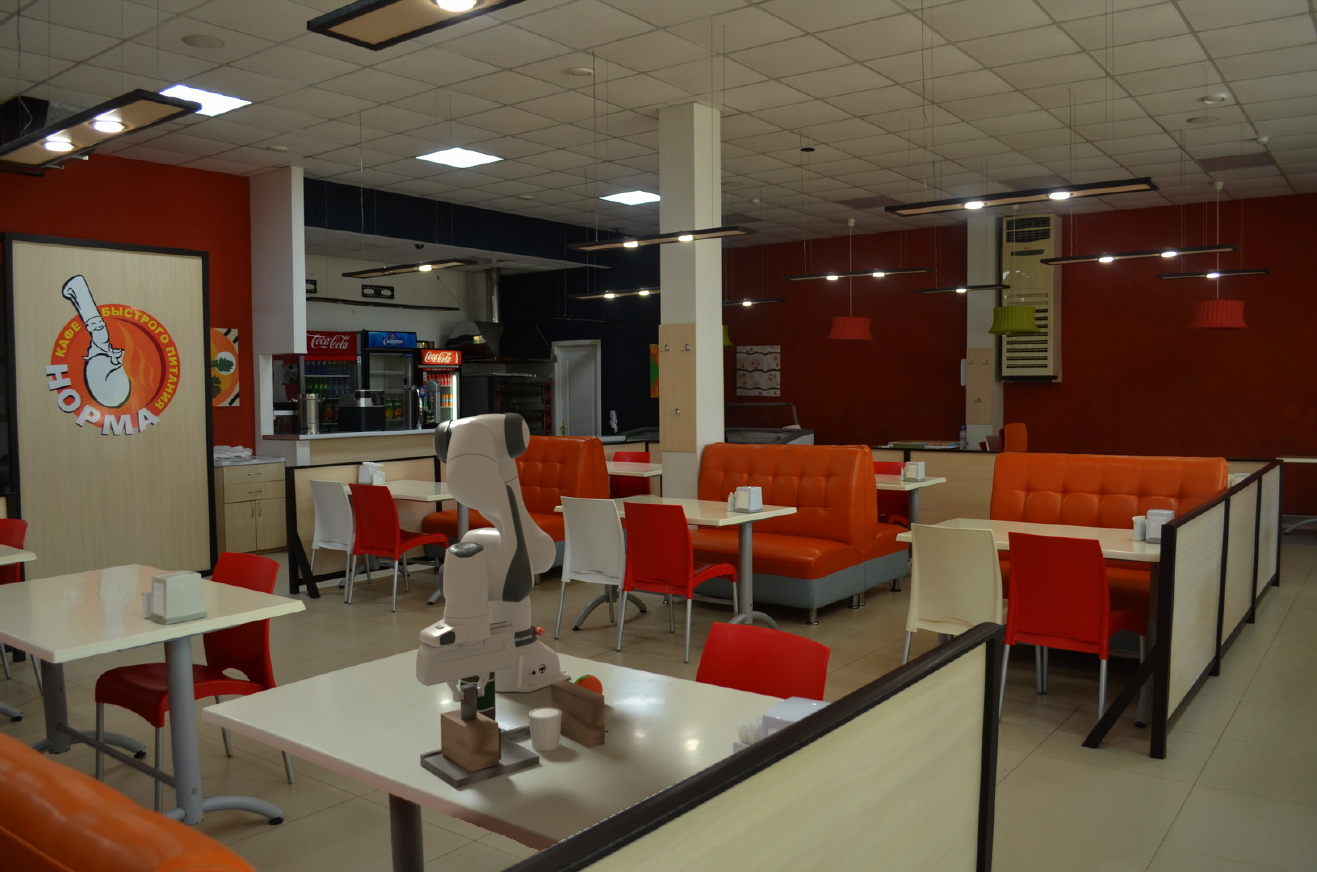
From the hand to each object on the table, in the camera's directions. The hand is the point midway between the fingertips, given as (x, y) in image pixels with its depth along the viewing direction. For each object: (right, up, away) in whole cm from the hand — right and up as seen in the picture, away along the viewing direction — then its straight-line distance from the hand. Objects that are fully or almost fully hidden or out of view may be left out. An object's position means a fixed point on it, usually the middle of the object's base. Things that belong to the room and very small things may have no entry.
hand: (468, 698), depth 183 cm
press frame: (+8, -13, +7) cm, 17 cm away
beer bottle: (-3, -13, +23) cm, 27 cm away
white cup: (+13, -13, +12) cm, 22 cm away
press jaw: (0, -12, +1) cm, 12 cm away
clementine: (+20, -12, +37) cm, 44 cm away
